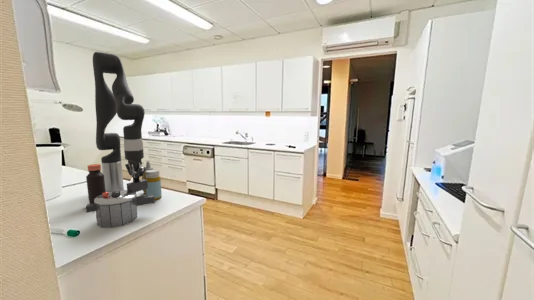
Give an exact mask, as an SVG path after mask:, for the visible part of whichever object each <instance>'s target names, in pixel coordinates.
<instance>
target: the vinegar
mask: <svg viewBox="0 0 534 300" xmlns="http://www.w3.org/2000/svg"><path fill="white" fill-rule="evenodd" d="M101 170H102V164H101V163H95V164H93V163H92V164H89V165H87V172H88V174H87V175H86V176H85V177H86V179H85V180H86V186H87V197H88V204H92V203H94V199H95V198H96V197H97V196H99V195H102V193H103V192H106V189H105V180H104V174H103V172H101Z"/></svg>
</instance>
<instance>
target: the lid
mask: <svg viewBox="0 0 534 300" xmlns="http://www.w3.org/2000/svg"><path fill="white" fill-rule="evenodd" d="M147 188H148V182H147V180H145V179H142V178H141V179H139V180H138V181H134V182H133V181H131V182H128V183H126V190H125V189H124V190H122V191H114V192H109V193H108V192H103V193H102V195H99V196H97V197H96V198H95V199H94V203H95V204H96V205H99V206H110V205H117V204H122V203H126V202H129V201H131V200H133V199H135V198H136V197H138V196H137V192H140V191H143V190H144V189H147Z"/></svg>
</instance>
